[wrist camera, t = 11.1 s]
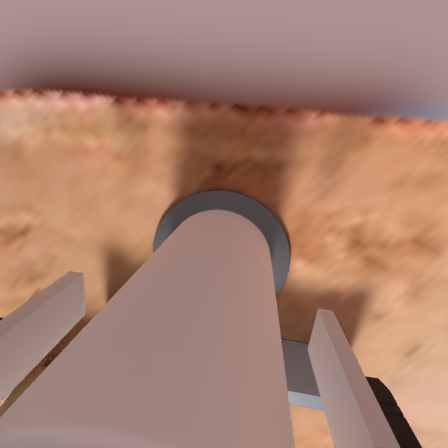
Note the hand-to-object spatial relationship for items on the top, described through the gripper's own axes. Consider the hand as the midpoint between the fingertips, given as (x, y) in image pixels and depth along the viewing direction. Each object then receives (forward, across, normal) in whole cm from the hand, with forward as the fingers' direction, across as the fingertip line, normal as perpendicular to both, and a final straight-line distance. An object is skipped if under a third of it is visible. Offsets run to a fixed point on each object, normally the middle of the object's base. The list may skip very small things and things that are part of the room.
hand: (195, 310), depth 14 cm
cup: (+7, 0, 0) cm, 7 cm away
